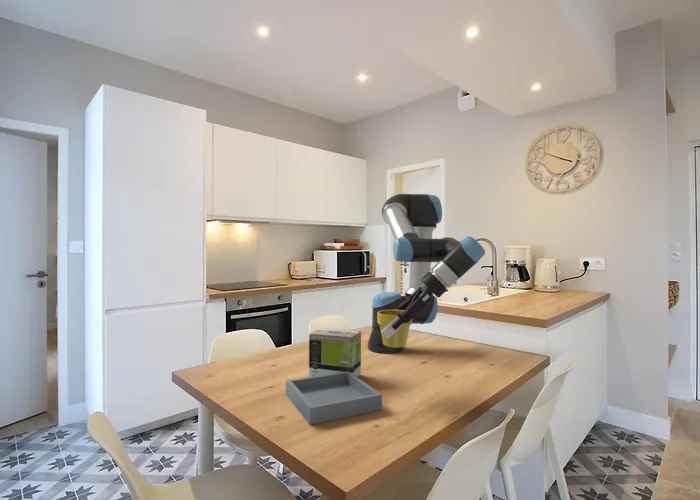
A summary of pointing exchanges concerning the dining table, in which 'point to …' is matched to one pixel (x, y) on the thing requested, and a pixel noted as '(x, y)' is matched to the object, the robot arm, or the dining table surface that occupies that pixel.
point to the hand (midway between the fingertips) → (384, 330)
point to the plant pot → (400, 335)
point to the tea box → (334, 352)
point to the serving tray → (332, 397)
